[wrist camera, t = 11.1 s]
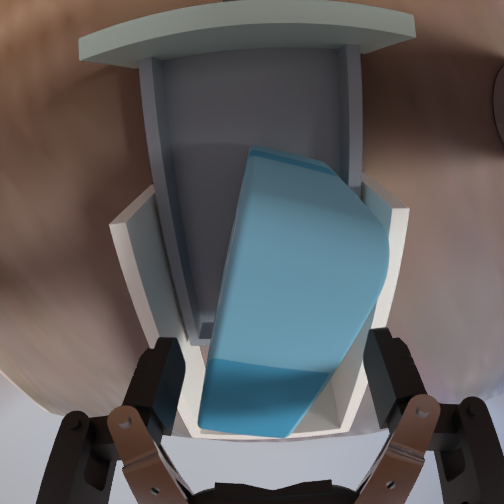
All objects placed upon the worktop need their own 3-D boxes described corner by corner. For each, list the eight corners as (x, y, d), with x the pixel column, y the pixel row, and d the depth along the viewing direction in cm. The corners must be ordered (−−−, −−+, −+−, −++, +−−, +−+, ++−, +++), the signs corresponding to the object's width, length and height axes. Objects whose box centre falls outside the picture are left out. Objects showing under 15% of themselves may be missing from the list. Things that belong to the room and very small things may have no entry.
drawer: (362, 22, 14) (410, -7, 8) (350, 313, 25) (372, 375, 19) (133, 37, 15) (78, 17, 8) (181, 321, 26) (163, 384, 20)
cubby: (365, 172, 19) (409, 208, 13) (337, 377, 30) (348, 431, 24) (151, 184, 20) (108, 224, 14) (200, 383, 31) (192, 437, 24)
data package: (251, 140, 17) (241, 207, 7) (321, 157, 18) (406, 247, 7) (218, 296, 23) (194, 438, 13) (274, 307, 23) (282, 448, 13)
